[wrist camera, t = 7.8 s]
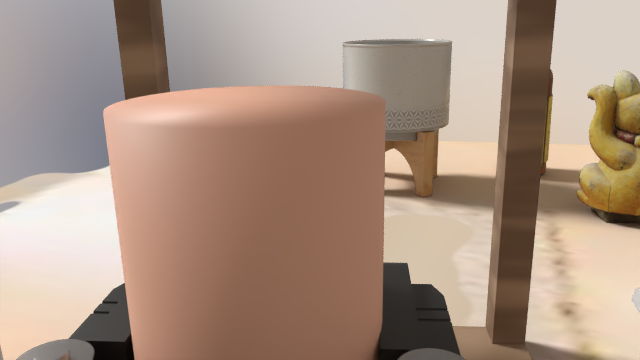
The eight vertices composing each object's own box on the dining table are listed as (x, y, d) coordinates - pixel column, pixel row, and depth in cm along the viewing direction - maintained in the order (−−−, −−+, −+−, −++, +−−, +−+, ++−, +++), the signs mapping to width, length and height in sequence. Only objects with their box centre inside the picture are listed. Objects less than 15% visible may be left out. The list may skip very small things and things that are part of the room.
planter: (383, 206, 64) (384, 46, 59) (325, 179, 75) (322, 42, 70) (467, 187, 70) (475, 40, 65) (403, 165, 81) (405, 38, 76)
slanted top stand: (706, 676, 18) (957, -352, 11) (-48, 629, 20) (-301, -267, 13) (526, 330, 38) (567, -113, 31) (156, 323, 40) (107, -95, 33)
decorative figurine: (644, 201, 63) (664, 66, 59) (700, 227, 56) (728, 74, 51) (563, 206, 62) (578, 69, 58) (609, 233, 55) (630, 77, 50)
